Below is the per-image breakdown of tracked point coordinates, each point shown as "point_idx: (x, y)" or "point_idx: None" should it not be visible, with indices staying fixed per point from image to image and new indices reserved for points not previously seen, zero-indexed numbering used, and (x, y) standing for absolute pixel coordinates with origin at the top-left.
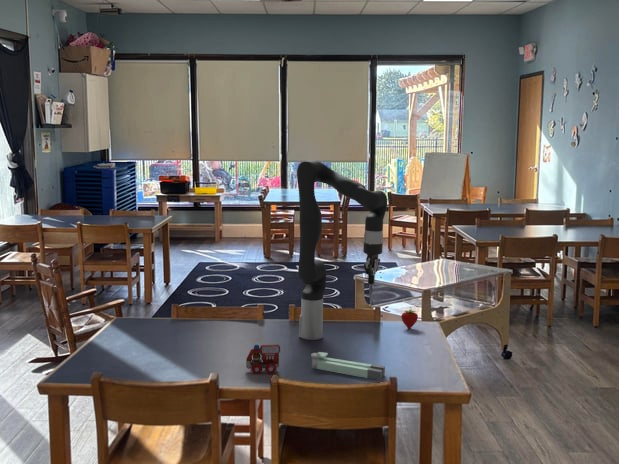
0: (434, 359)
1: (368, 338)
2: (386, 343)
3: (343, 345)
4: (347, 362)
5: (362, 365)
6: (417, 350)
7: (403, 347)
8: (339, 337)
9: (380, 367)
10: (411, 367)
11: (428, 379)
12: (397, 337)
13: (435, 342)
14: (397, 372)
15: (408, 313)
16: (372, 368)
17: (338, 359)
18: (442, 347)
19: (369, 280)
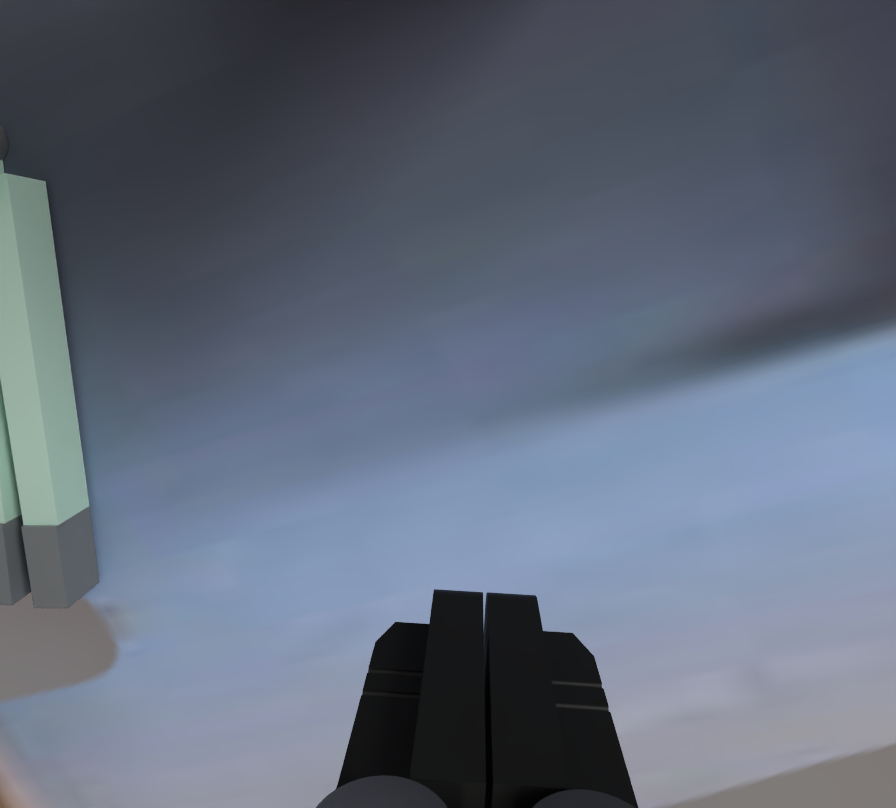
0: None
1: (737, 283)
2: (672, 438)
3: (500, 157)
4: (4, 366)
5: (16, 473)
6: (610, 654)
7: (633, 563)
8: (676, 52)
9: (31, 589)
10: (298, 682)
11: (171, 793)
12: (838, 475)
13: (816, 723)
14: (182, 631)
15: None
16: (3, 544)
17: (21, 288)
18: (730, 775)
19: (370, 699)
